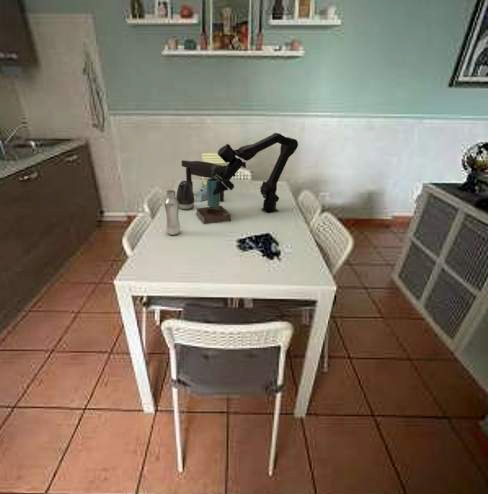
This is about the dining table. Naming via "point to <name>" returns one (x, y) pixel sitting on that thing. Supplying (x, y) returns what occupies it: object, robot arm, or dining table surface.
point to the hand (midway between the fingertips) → (210, 192)
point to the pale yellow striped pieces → (212, 160)
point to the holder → (213, 214)
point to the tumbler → (211, 186)
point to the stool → (199, 170)
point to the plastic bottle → (172, 213)
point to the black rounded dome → (185, 195)
